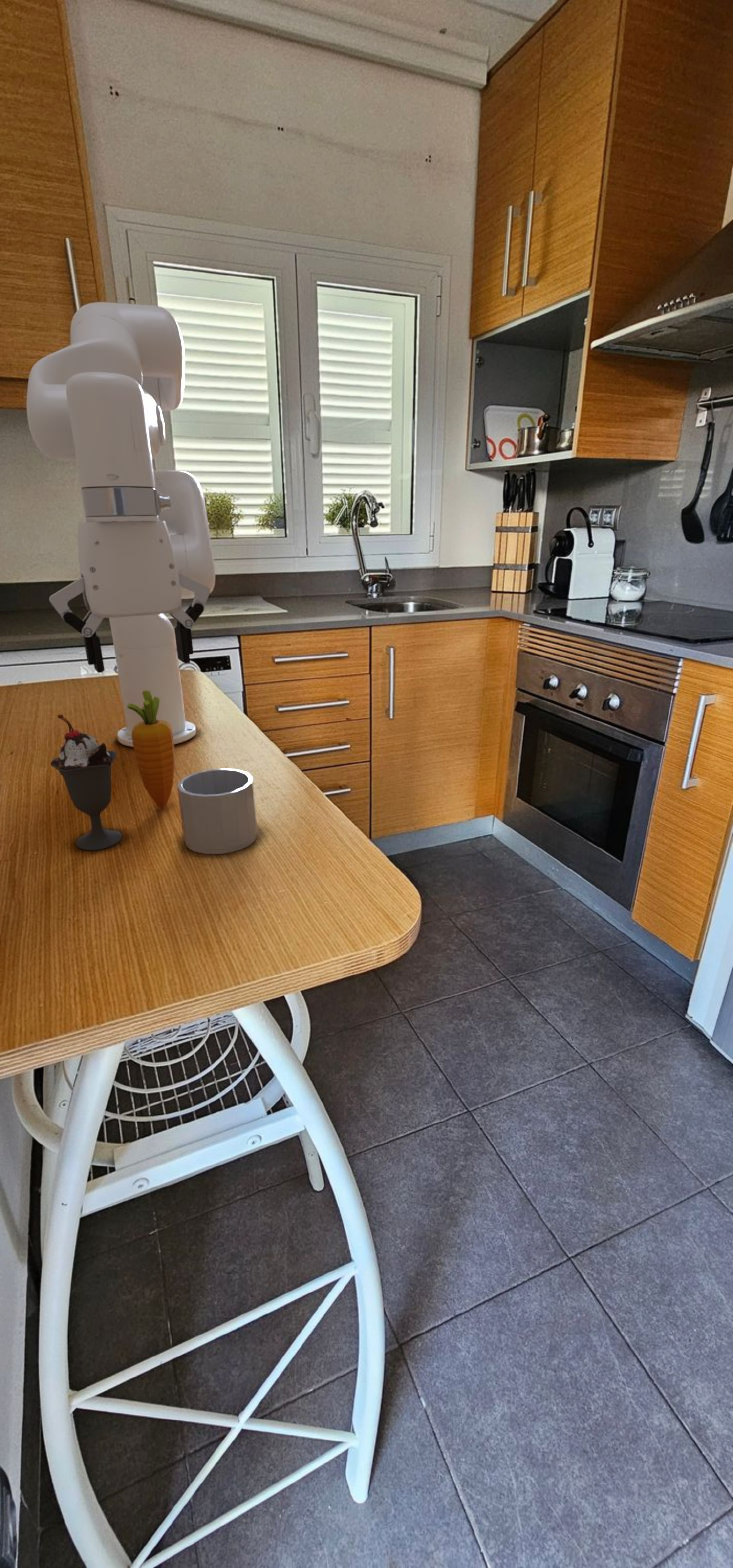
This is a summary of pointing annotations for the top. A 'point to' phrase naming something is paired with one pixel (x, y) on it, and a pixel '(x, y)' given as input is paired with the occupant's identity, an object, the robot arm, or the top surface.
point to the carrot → (154, 750)
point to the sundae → (88, 783)
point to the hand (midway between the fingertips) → (142, 665)
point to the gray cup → (218, 810)
